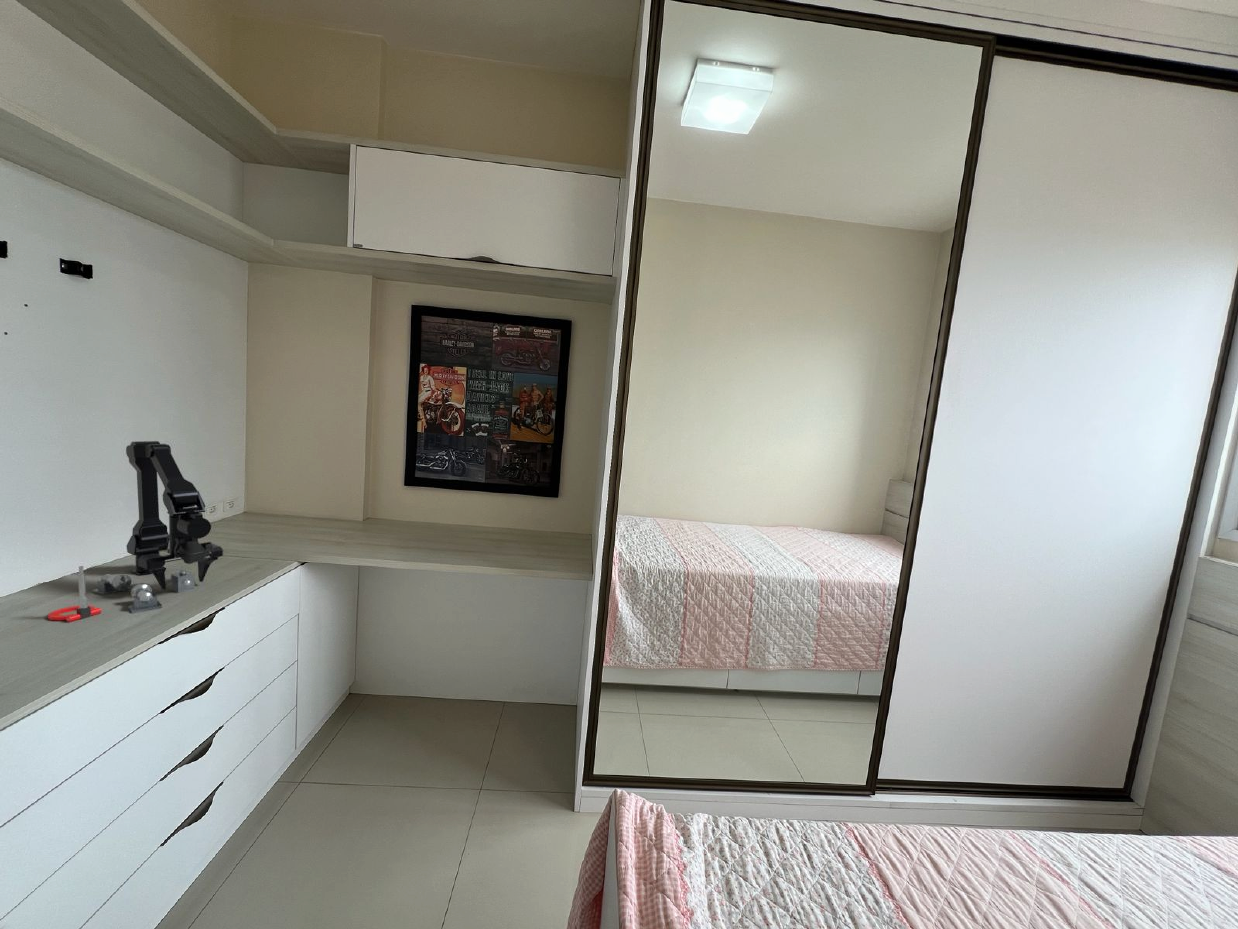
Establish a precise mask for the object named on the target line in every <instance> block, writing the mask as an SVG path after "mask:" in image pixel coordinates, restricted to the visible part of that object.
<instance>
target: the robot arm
mask: <svg viewBox="0 0 1238 929" xmlns="http://www.w3.org/2000/svg"><path fill="white" fill-rule="evenodd" d="M125 454H126V457H127V458H128V462H129V464H130V466H132V467H133V468H134V470H135V472H136V480H137V481H136V485H137V486H136V487H137V502H138V520H137V522H136V523H135V525H134V526H133V527H132V532H131V533H132V535H130V538H129V540H128V542H127V544H126V553H127V554H129V555H131V556H135V559H134V560H135V568H132V569H130V572H131V573H133V574H136V575H138V576H144V575H149V574H152V575H153V577H154V578H155V579H156V582H157V583H158V585H159V587H160V588H161V590H162V591H166V587H167V586H166V585H167V583H166V570H167V567H165V565H166V563H170V562H175V561H180V560H181V561H183V562H184V563H185V564H188V565H190V564H193V563H197V573H198V581H199V583H202V582H204V580H205V577H206V575H207V572H208V570H209V568H210V566H211V565H212V563H214V562H215V561H217V560H219V558H220V557H223V556H224V549H223V547H222V546H220V545H217V544H214V543H212V542H211V541H206V542H201V543H199V539H202V538H205V537H207V536H208V535H209V533H210V532H211V531H212V524H211V522H210V520H208V519H207V518H205V517H204V514H203V513H205V512H206V504H205V501H204V500H203V498H202V495H201V494H200V491H199V490H197V488H196V487H195V484H194V483H193V482H191V481H189V480H188V479H186V478H184V476H183V474H182V471H180V468H179V467H178V464H177V462H176V460H175V458H174V456H173V455H172V449H171V446H170V444H167V443H160V441H158V440H153V441H152V440H150V441H149V440H148V441H147V440H144V441H132V442H130V443H129V445H126V447H125ZM158 477H159V479H160V481H161V483H162V485H163V487H164V490H163V493H162V495H161V496H162V502H163V504H164V507H165V508H166V510H167V512H166V513H167V514H168V526H167V524H165V523H164V522H163V521H162V520H161V519H160V505H159V503H160V502H159V485H158V484H159V483H158ZM168 529H169V530H168ZM162 551H167V554H166V555H161V554H160V552H162Z"/></svg>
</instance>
